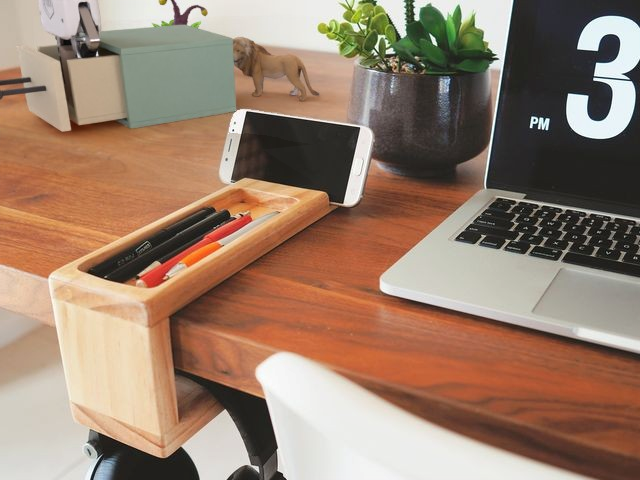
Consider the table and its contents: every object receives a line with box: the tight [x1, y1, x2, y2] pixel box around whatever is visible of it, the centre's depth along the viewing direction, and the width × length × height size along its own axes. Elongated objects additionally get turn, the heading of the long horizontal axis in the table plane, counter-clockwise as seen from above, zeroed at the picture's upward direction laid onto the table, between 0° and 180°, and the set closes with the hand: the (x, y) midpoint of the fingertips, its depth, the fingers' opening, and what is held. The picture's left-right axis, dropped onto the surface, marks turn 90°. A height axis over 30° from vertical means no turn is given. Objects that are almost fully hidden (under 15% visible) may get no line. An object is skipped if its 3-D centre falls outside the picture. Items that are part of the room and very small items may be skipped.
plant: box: [151, 0, 208, 29], centre depth 144 cm, size 20×20×11 cm
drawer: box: [0, 42, 127, 133], centre depth 98 cm, size 22×13×9 cm, turn 130°
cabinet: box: [79, 24, 237, 130], centre depth 106 cm, size 17×15×11 cm
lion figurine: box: [233, 36, 320, 102], centre depth 115 cm, size 15×5×9 cm, turn 82°
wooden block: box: [60, 45, 81, 108], centre depth 99 cm, size 4×4×8 cm
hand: (83, 86), depth 99 cm, fingers closed on wooden block, 4 cm apart
